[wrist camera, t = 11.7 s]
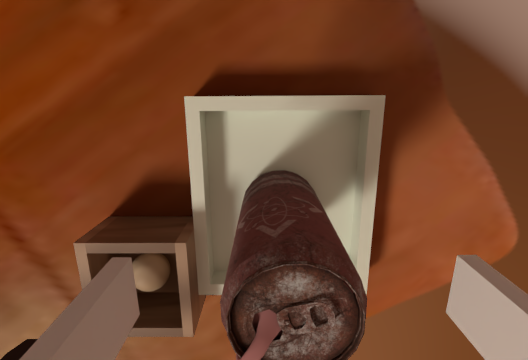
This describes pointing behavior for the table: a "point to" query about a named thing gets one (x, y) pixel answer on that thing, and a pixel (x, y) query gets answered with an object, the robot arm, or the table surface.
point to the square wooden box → (150, 241)
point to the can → (290, 278)
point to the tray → (281, 166)
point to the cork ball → (150, 271)
